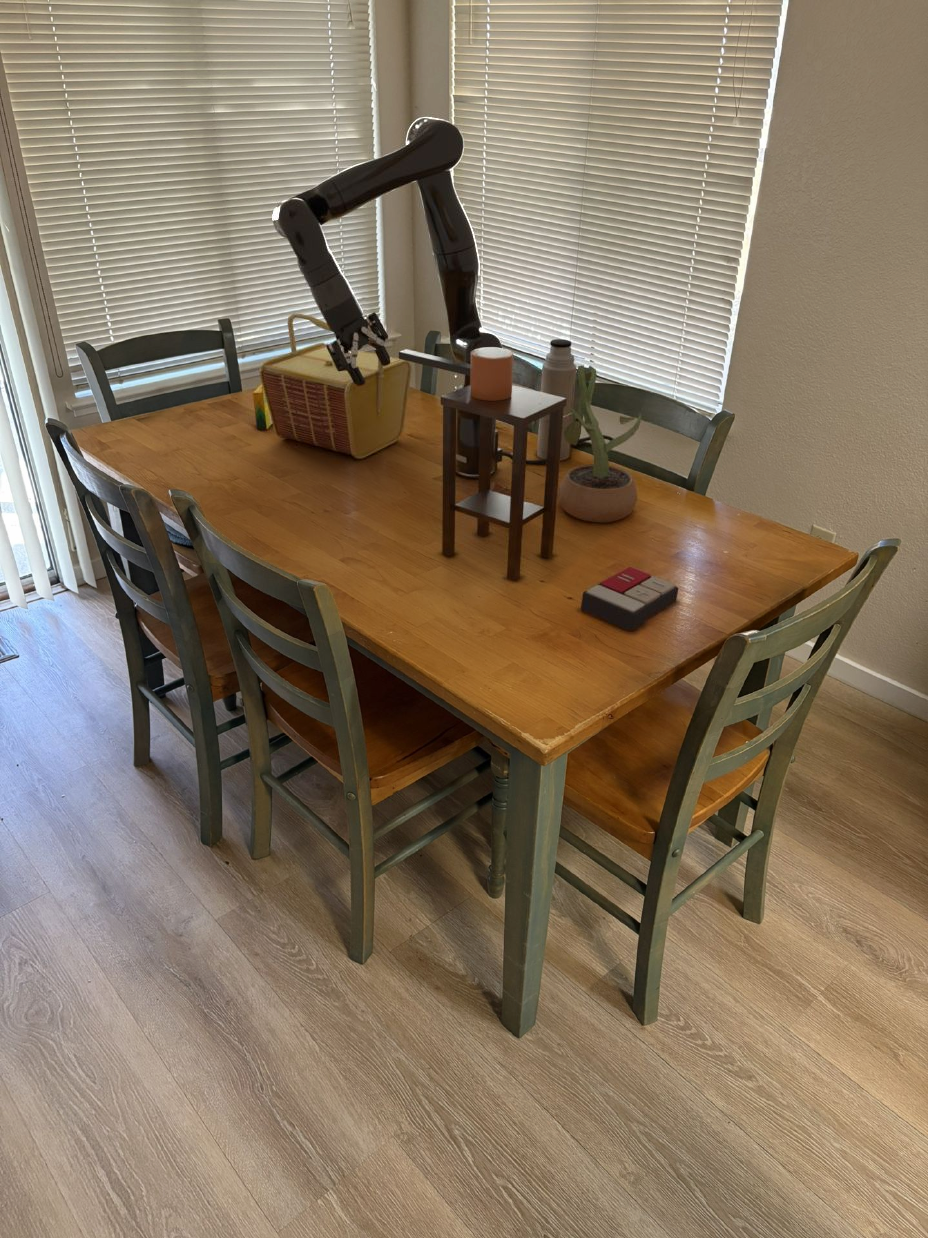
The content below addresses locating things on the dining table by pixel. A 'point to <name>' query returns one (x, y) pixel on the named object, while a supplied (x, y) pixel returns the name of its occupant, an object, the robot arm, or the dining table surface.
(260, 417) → the crayon box
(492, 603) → the dining table surface
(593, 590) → the calculator
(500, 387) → the dipper cup
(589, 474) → the potted plant
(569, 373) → the thermos bottle
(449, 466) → the plant stand
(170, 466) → the dining table surface
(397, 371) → the picnic basket
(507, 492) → the fruit slice
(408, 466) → the dining table surface
